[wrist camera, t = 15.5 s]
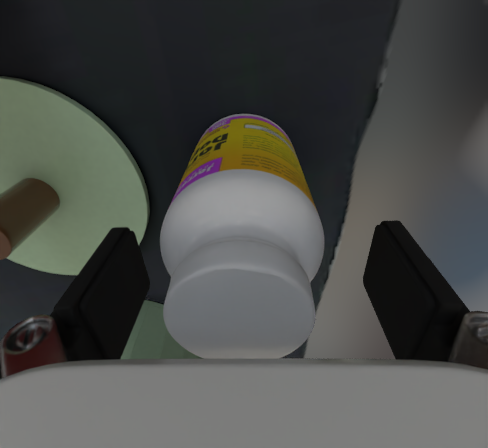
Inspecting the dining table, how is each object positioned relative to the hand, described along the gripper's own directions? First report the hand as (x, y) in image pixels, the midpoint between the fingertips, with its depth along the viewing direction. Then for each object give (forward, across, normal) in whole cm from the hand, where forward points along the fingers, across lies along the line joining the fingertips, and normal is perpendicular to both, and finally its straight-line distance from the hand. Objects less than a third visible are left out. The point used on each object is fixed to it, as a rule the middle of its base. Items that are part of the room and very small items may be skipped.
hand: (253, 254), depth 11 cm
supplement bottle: (+10, +1, 0) cm, 10 cm away
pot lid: (+9, +15, +1) cm, 17 cm away
